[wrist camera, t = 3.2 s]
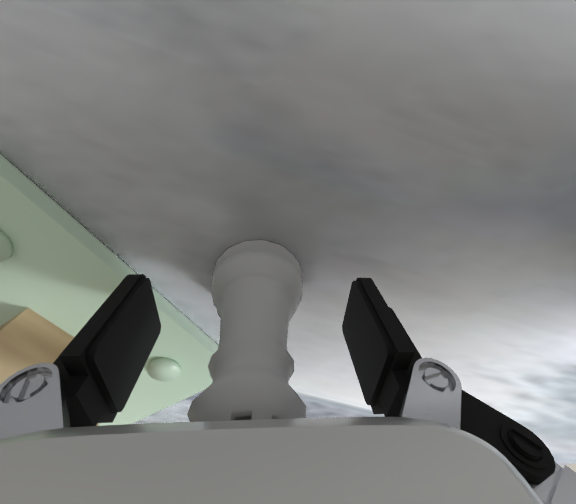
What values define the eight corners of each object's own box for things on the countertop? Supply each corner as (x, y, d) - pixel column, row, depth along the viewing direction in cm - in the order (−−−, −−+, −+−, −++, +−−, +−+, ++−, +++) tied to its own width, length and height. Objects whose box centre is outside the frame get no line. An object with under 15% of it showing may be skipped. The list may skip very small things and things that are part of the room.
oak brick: (28, 307, 12) (-102, 415, 8) (127, 371, 15) (69, 478, 11) (-44, 356, 14) (-190, 472, 9) (60, 407, 16) (-16, 515, 12)
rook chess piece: (318, 261, 13) (373, 436, 6) (273, 317, 15) (275, 504, 8) (240, 218, 12) (195, 382, 5) (200, 286, 13) (124, 479, 6)
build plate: (-27, 129, 9) (-61, 132, 8) (238, 363, 17) (236, 379, 16) (-217, 316, 13) (-256, 333, 12) (72, 442, 20) (62, 459, 19)
